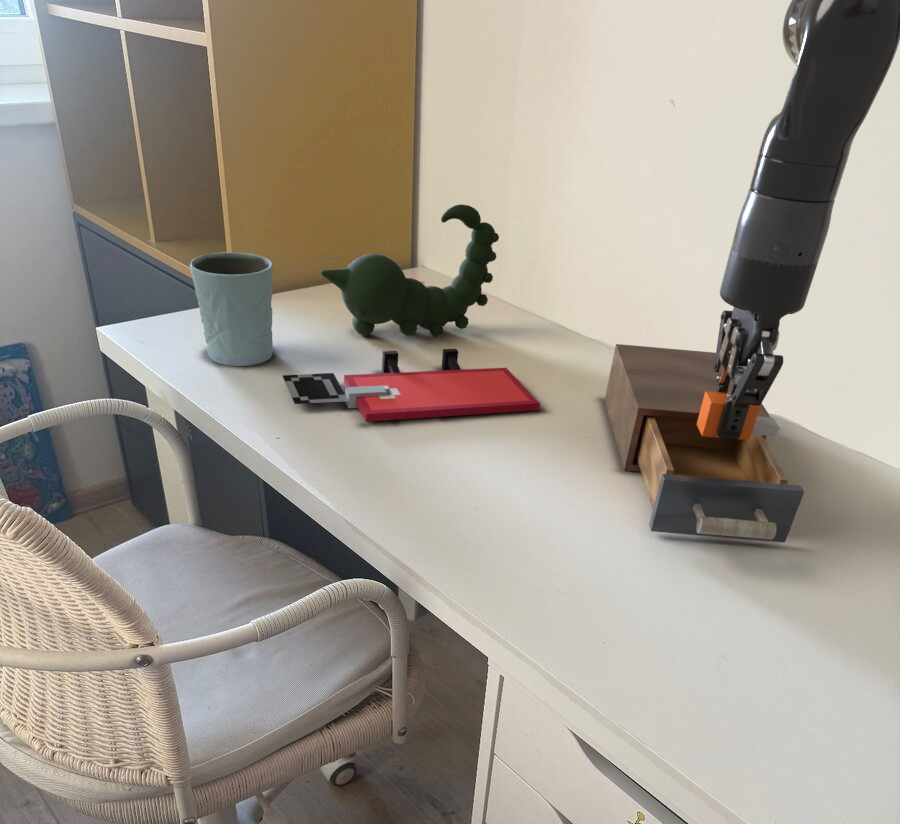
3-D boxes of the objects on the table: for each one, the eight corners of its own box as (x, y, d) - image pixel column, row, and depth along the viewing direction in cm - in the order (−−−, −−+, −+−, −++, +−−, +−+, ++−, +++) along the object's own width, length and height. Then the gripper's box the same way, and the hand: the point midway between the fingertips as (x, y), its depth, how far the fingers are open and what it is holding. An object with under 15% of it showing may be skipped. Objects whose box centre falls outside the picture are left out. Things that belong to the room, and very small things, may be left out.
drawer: (798, 567, 78) (819, 515, 75) (657, 555, 78) (672, 502, 75) (739, 456, 97) (754, 410, 93) (625, 446, 96) (636, 400, 93)
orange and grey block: (768, 430, 85) (779, 396, 82) (775, 442, 82) (787, 408, 80) (696, 424, 84) (705, 391, 82) (701, 436, 82) (711, 402, 80)
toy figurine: (466, 329, 132) (311, 320, 123) (488, 201, 121) (320, 181, 112) (487, 351, 125) (323, 343, 116) (512, 216, 114) (334, 197, 105)
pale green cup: (292, 357, 113) (288, 266, 105) (229, 375, 107) (220, 279, 99) (247, 336, 118) (241, 247, 111) (185, 351, 112) (173, 258, 105)
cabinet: (751, 481, 94) (772, 419, 89) (624, 470, 94) (638, 407, 89) (714, 409, 109) (730, 353, 105) (604, 400, 109) (615, 343, 105)
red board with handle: (279, 376, 107) (302, 429, 96) (279, 355, 105) (302, 406, 94) (494, 366, 116) (538, 413, 105) (497, 347, 114) (541, 392, 103)
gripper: (845, 275, 67) (779, 465, 78) (794, 233, 78) (743, 404, 89) (753, 268, 67) (700, 459, 78) (715, 226, 78) (673, 398, 89)
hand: (723, 429), depth 83 cm, fingers closed on orange and grey block, 2 cm apart
